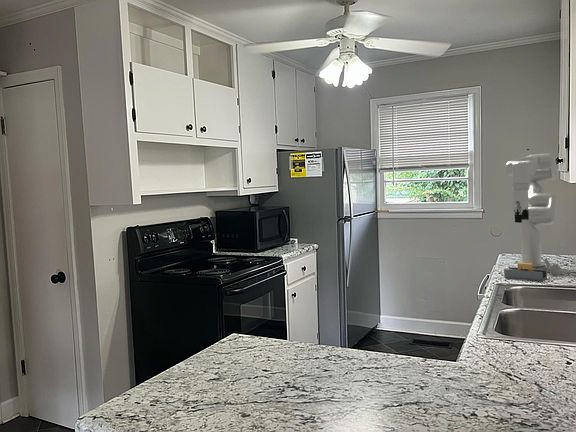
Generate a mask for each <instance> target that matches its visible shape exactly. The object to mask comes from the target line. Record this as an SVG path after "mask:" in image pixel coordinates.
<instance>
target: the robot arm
mask: <svg viewBox="0 0 576 432" xmlns="http://www.w3.org/2000/svg"><path fill="white" fill-rule="evenodd" d="M504 172H505V174H506V175H507V176H508V177H511V180H512V181H511V182H512V184H511V185H512V191H513V193H512V210H513V212H514V213H513V214H514V223H519V224H520V239H521V240H520V242H521V244H520V245H521V261H519V262H518V263H531V264H533V267H534V268H535V267H537V268H539V267H545V265H546V264H545V262H544V261H542V233H541V230H540V229H539V228H538V227H537V226H538V225H553V224H554V223H555V222H556V218H557V211H558V205H559V199H558V196H557V195H556V194H555V193H553V192H545V189H544V187H543V186H542V185H541V184H540V182H554V181H556V180H557V179H558V177H559V169H558V165H557V161H556V159H555V156H554V155H553V154H552V153H548V152H547V153H535V154H530V155H527V156H525V157H520V158H516V159H512V160H509V161H507V162H506V164H505V166H504ZM536 225H537V226H536Z"/></svg>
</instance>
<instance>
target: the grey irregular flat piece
mask: <svg viewBox="0 0 576 432" xmlns="http://www.w3.org/2000/svg"><path fill="white" fill-rule="evenodd" d="M543 262H544V263H545V265H546V267H547V268H549V267H550V268H549V269H550V271H549V273H550V276H551V275H552V276H561V265H559V264H558V263H552V264H551V263H550V262H549V260H548V258H547V257H545V258H543Z"/></svg>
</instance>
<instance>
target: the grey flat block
mask: <svg viewBox="0 0 576 432" xmlns="http://www.w3.org/2000/svg"><path fill="white" fill-rule="evenodd" d="M547 271H548V270H547V269H539V268H538V269H537V268H533V271H528V268H523V270H518V267H516V266H509V267H508V268H504V270H503V272H504V273H503V276H504V278H506V279H507V278H509V279H515V278H516V279H515V280H525V279H527V281H535V280H536V281H537V282H543V281H545V280H547V278H548V272H547Z"/></svg>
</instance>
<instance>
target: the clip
mask: <svg viewBox="0 0 576 432" xmlns="http://www.w3.org/2000/svg"><path fill="white" fill-rule="evenodd" d="M517 268H518V270H523V268H528V271H533V269H534V268H533V264H531V263H519V262H518V263H517Z"/></svg>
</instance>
